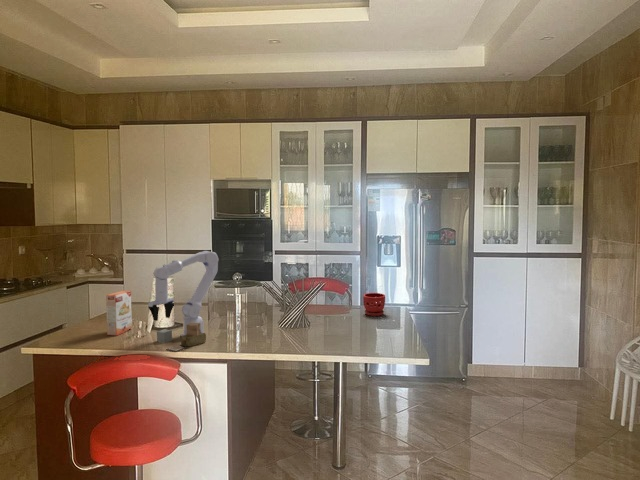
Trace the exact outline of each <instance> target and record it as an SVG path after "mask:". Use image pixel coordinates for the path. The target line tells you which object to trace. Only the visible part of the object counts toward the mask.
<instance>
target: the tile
mask: <svg viewBox="0 0 640 480" xmlns="http://www.w3.org/2000/svg"><path fill="white" fill-rule="evenodd" d="M186 348H187V346H182V345H180V346H179V345H176V346H172V347H169V348H165V351H168V350H170V351H169V352H173V351H174V353H177V351H178V352H180V350H181V351H183V349H184V350H186Z"/></svg>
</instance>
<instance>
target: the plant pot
mask: <svg viewBox="0 0 640 480" xmlns="http://www.w3.org/2000/svg"><path fill="white" fill-rule="evenodd" d="M362 298H363V299H362V301H363V306H364V307H363V308H364V314H365V315H368V316H373V317H376V316H378V317H379V316H382V315H383V314H385V313H384V312H385V310H384V309H385V305H386V294H384V293H379V292H367V293H364V294H363V297H362Z"/></svg>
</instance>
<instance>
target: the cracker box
mask: <svg viewBox="0 0 640 480" xmlns="http://www.w3.org/2000/svg"><path fill="white" fill-rule="evenodd" d="M105 297H106V298H105V300H106V303H105V304H106V335H107V336H117V337H118V336H119V335H121V334H124V333H126V332H128V331H127V330H129V329H131V328H132V329H133V326H132V325H133V324H132V322H133V321H132V318H133V317H132V291H131V290H120V291H117V292H112V293H110V294H109V293H108V294H106V295H105ZM132 329H131V330H132ZM125 331H126V332H125ZM129 331H130V330H129Z"/></svg>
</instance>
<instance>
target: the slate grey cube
mask: <svg viewBox="0 0 640 480" xmlns="http://www.w3.org/2000/svg"><path fill="white" fill-rule="evenodd" d="M156 341H157V342H158V343H162V344H163V343H168V342H171V341H173V330H170V329H166V328H164V329H160V330H157V331H156Z"/></svg>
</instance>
